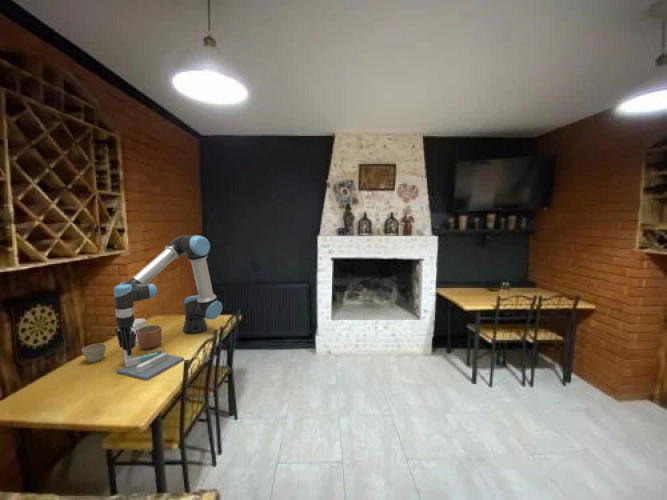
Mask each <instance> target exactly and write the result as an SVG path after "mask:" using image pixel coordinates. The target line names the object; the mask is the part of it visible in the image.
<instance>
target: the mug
mask: <svg viewBox="0 0 667 500" xmlns="http://www.w3.org/2000/svg"><path fill="white" fill-rule="evenodd" d="M144 326H147V321H146V318H134V323H133V329H134V330H138V329H139V328H141V327H144ZM135 343H138V339H137V334H136V341H135Z"/></svg>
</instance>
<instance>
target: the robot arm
mask: <svg viewBox="0 0 667 500" xmlns="http://www.w3.org/2000/svg"><path fill="white" fill-rule="evenodd" d="M210 250H211V243H210V242H209V240H208V239H207V238H206V237H204V236H202V235H194V234H193V235H188V234H184V235H180V236H178V237H176V238H175V239H173V240H172V241H170V242H169V243H168V244H167V245H165V246H164V250H163V251H161V252H160V253H159V254H158V255H157V256H155V257H154V259H152V260H151V261H150V262H149V263H148V264H146V265H145V266H144V267H143V268H141V270H139V271H138V272H137V273H136V274H135V275H134V276H132V277H131V278H130V279H129V280H128V281H123V282H121V283H118V285H115V286H114V289H113V296H114V297H113V298H114V307H115V317H116V318H115V322H116V326H118V327H116V328H114V331H115V333H116V337H117V341H118V345H119V348H121V349H122V350H123V355H124V356H123V357H124V361H125V360H127V359H131V358H133V357H132V354H133V353H132V352H133V350H132V349H133V348H136V342H135V341H136V334H137V332H138V331H137V330H134V329H133V323H134V320H135V309H134V303H136V302H141V301H143V300H144V301H145V300H149V299H152V298H155V297H156V296H157V295H158V288H157V286H156V285H155V284H154V283H150V281H151V280H153V279H154V278H155V277H156V276H157V275H158V274H160V272H162V271H163V270H164V269H165V268H166V267H167V266H168V265H169V264H170V263H171V262H173V260H175V259H178V258H179V257H181V256H184V255H186V258H187V260H188V261H189V262H190V264H191V267H192V273H193V277H194V281H195V285H196V290H197V293H198V294H196V295H190V296H187V297H185V299H184V300H183V301H184V302H183V305H184V319H185V320H184V324H183V327H182V332H183V333H184V334H187V335H196V334H197V335H198V334H201V333H204V332H206V331H207V330H208V327H209V326H208V323H207V321H206V319H208V320H209V319H210V320H214V319H217V318H218V317H219V316H220V315H221V313H222V312H223V304H222V302H221V301H220V300H218V298H217V295H216V294H215V293H214V292H213V290H214V289H213V287H212V286H213V285H212V282H211V277H210V272H209V266H208V262H207V258H208V256H209V252H210Z"/></svg>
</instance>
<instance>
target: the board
mask: <svg viewBox="0 0 667 500" xmlns="http://www.w3.org/2000/svg"><path fill="white" fill-rule="evenodd" d="M157 353H161V351H157ZM184 361H185V357H182V356H178V355H172V354H169V352H166V353H162V354H160V355H158V356H156V357H154V358H152V359H150V360H148V361H146V362H144V363H142V364H138V365H134V366H130V367H126V366H123V367H121V368H118V369H116V370H115V371H116V374H117V375H121V376H125V377H130V378H134V379H139V380H143V381H146V382H148V381H150V380H151V379H153V378H155V377H157V376H158V375H161V374H163V373H164V372H165V371H168V370H169V369H171V368H172V367H173V368H174V367H175V366H177V365H178V364H180V363H182V362H184Z"/></svg>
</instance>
